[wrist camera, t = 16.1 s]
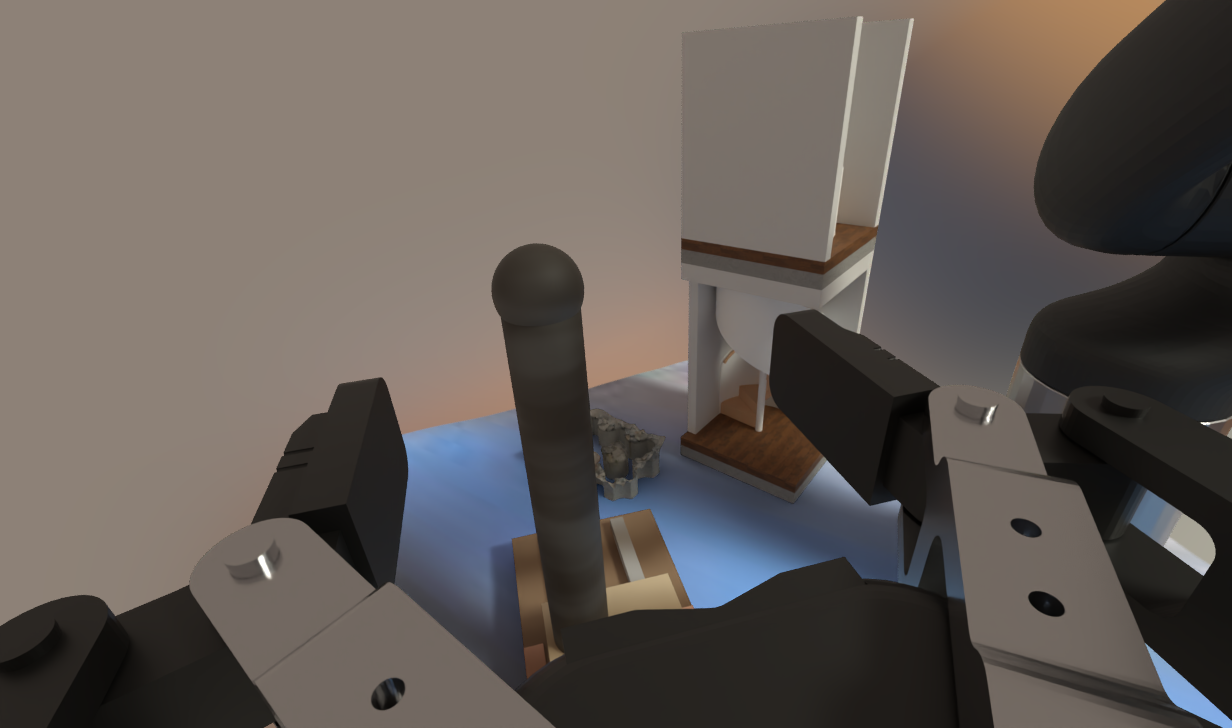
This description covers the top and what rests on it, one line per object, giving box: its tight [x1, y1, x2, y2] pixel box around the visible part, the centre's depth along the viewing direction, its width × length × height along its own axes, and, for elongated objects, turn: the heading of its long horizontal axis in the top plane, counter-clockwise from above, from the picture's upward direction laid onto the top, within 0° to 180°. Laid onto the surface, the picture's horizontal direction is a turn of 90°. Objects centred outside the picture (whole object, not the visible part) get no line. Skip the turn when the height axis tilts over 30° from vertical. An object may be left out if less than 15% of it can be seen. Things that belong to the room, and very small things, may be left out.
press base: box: [512, 509, 694, 679], centre depth 35 cm, size 18×11×5 cm, turn 14°
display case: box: [681, 17, 914, 504], centre depth 45 cm, size 11×11×35 cm
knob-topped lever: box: [492, 244, 682, 662], centre depth 27 cm, size 5×8×24 cm, turn 104°
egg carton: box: [590, 409, 666, 501], centre depth 52 cm, size 11×8×4 cm
